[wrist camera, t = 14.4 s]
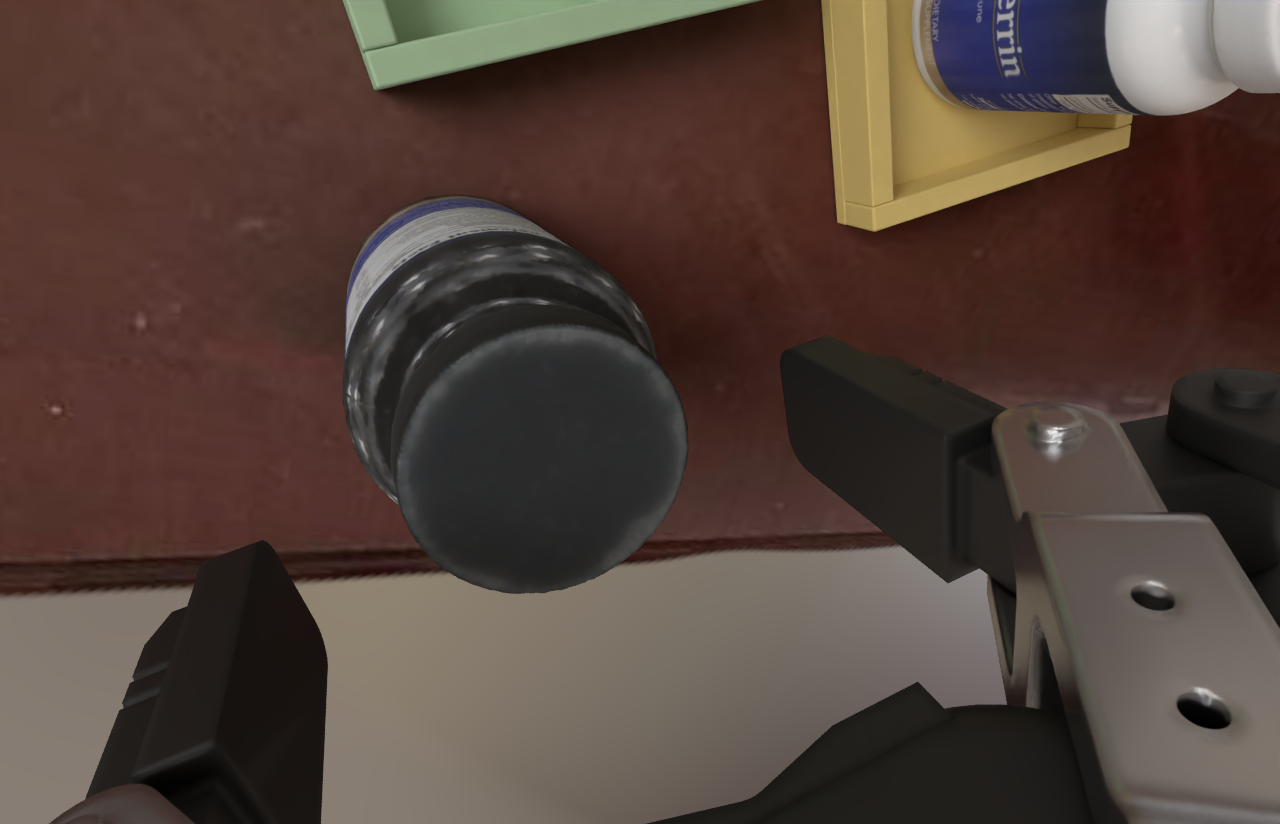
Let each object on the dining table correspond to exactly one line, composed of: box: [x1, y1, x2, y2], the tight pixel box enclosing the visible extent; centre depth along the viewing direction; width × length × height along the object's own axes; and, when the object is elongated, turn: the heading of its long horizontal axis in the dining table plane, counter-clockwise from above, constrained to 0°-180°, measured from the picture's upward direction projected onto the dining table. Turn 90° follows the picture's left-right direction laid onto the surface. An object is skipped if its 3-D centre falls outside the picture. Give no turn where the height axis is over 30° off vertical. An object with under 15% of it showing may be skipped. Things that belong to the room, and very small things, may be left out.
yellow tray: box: [821, 0, 1133, 232], centre depth 22 cm, size 11×11×2 cm
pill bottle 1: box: [343, 195, 688, 594], centre depth 16 cm, size 6×6×11 cm
